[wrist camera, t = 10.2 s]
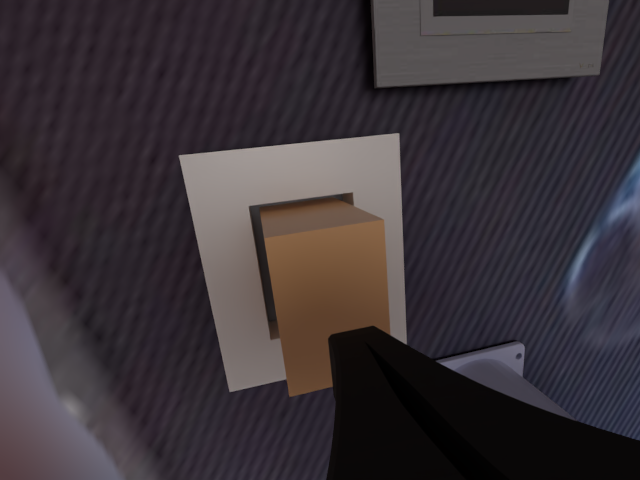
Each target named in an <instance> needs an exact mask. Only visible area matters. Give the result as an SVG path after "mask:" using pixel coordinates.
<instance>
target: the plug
mask: <svg viewBox="0 0 640 480" xmlns="http://www.w3.org/2000/svg"><path fill="white" fill-rule="evenodd" d="M259 210H260V216H261V223H262V229H263V235H264V241H265V248H266V254H267V260H268V266H269V273H270V279H271V285H272V291H273V298H274V304H275V310H276V316H277V322H278V329H279V335H280V341H281V347H282V353H283V359H284V366H285V372H286V378H287V384H288V390H289V397H292V396H296V395H300V394H304V393H308V392H312V391H316V390H320V389H325V388H329V387H333V383H332V374H331V364H330V355H329V345H328V338H329V337H330V335H331V334H335V333H340V332H344V331H349V330H354V329H359V328H364V327H369V326H375V327H377V328H379V329H381V330H382V331H384V332H386V333H388V334H389V335H390V316H389V298H388V280H387V262H386V244H385V226H384V219H382V218H380V217H377V216H375V215H373V214H370V213H368V212H366V211H364V210H361V209H359V208H357V207H355V206H352V205H350V204H348V203H346V202H343V201H341V200H339V199H336V198H334V197H329V198H322V199H314V200H307V201H300V202H292V203H285V204H278V205H270V206H263V207H259Z"/></svg>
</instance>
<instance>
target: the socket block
mask: <svg viewBox="0 0 640 480" xmlns="http://www.w3.org/2000/svg"><path fill="white" fill-rule="evenodd" d="M179 158H180V163H181V167H182V172H183V177H184V181H185V186H186V191H187V195H188V200H189V205H190V209H191V214H192V219H193V223H194V228H195V233H196V237H197V242H198V247H199V251H200V256H201V261H202V265H203V270H204V275H205V279H206V284H207V289H208V293H209V298H210V303H211V307H212V312H213V317H214V321H215V326H216V331H217V335H218V340H219V345H220V349H221V354H222V359H223V363H224V368H225V373H226V377H227V382H228V387H229V391H230V392H233V391H237V390H241V389H246V388H250V387H254V386H259V385H263V384H267V383H272V382H276V381H280V380H285V379H287V378H286V372H285V366H284V359H283V353H282V347H281V341H280V335H279V329H278V322H277V316H276V310H275V304H274V298H273V291H272V285H271V279H270V273H269V266H268V260H267V254H266V248H265V241H264V235H263V229H262V223H261V216H260V210H259V207H263V206H270V205H278V204H285V203H292V202H300V201H307V200H314V199H322V198H329V197H334V198H336V199H339V200H341V201H343V202H346V203H348V204H350V205H352V206H355V207H357V208H359V209H361V210H364V211H366V212H368V213H370V214H373V215H375V216H377V217H380V218H382V219H384V226H385V244H386V262H387V280H388V298H389V316H390V335H391V336H393V337H394V338H396V339H398V340H399V341H401V342H403V343H404V344H406V345H407V337H406V310H405V282H404V255H403V227H402V200H401V172H400V145H399V133H396V134H387V135H377V136H367V137H357V138H347V139H337V140H327V141H317V142H307V143H298V144H288V145H278V146H268V147H258V148H248V149H238V150H228V151H218V152H208V153H199V154H189V155H179Z"/></svg>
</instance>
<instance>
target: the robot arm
mask: <svg viewBox="0 0 640 480" xmlns="http://www.w3.org/2000/svg"><path fill="white" fill-rule="evenodd" d="M328 345H329V355H330V364H331V374H332V383H333V392H334V397H335V401H336V407H335V422H334V432H333V440H332V448H331V456H330V462H329V468H328V474H327V480H640V441H639V440H635V439H632V438H629V437H625V436H622V435H619V434H615V433H612V432H609V431H606V430H602V429H599V428H596V427H593V426H590V425H587V424H584V423H581V422H578V421H577V420H576V419H574V418H573V417H572V416H571V415H569V414H568V413H567V412H566V411H564V410H563V409H562V408H561V407H559V406H558V405H557V404H556V403H554V402H553V401H552V400H551V399H549V398H548V397H547V396H546V395H544V394H543V393H542V392H541V391H539V390H538V389H537V388H535V387H534V386H533V385H532V384H530V383H529V382H528V381H527V380H525V379H524V378H523V364H524V351H525V347H524V345H523V344H522V343H520V342H518V341H517V342H512V343H508V344H503V345H499V346H495V347H491V348H487V349H483V350H478V351H474V352H470V353H466V354H462V355H458V356H453V357H449V358H445V359H441V360H437V361H434V360H433V359H431V358H429V357H427V356H425V355H424V354H422V353H420V352H418V351H416V350H415V349H413V348H411V347H410V346H408V345H406V344H404V343H403V342H401V341H399V340H398V339H396V338H394V337H393V336H391V335H389V334H388V333H386V332H384V331H382V330H381V329H379V328H377V327H375V326H369V327H364V328H359V329H354V330H349V331H344V332H340V333H335V334H331V335H330V337H329V338H328Z"/></svg>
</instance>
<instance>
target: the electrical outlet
mask: <svg viewBox="0 0 640 480" xmlns="http://www.w3.org/2000/svg"><path fill="white" fill-rule="evenodd" d="M608 3H609V0H371V18H372V42H373V66H374V88H390V87H408V86H426V85H443V84H461V83H479V82H496V81H514V80H532V79H549V78H567V77H585V76H596V75H599V74H600V66H601V58H602V50H603V42H604V35H605V27H606V19H607V11H608Z"/></svg>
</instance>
